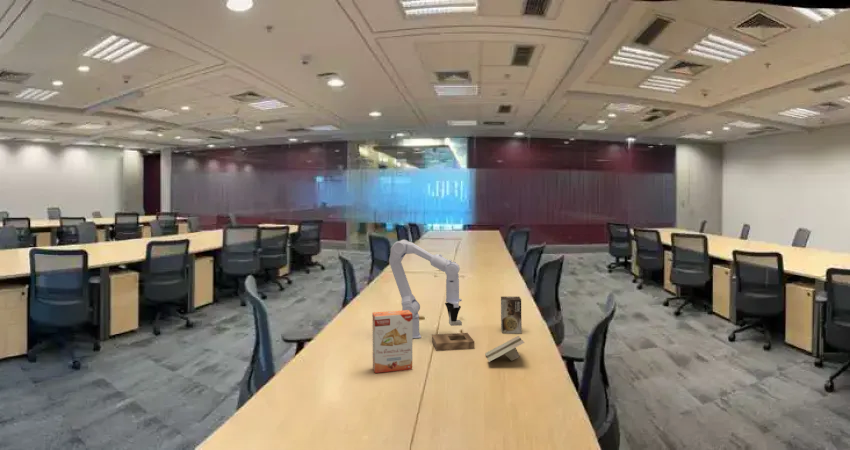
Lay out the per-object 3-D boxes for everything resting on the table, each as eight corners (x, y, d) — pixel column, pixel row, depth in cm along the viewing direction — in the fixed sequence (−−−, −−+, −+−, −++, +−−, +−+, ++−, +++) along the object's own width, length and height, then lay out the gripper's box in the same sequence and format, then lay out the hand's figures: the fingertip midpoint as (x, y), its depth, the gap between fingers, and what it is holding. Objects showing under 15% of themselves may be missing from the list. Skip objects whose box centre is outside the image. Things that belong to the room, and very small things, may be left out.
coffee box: (520, 329, 200) (520, 296, 199) (521, 333, 193) (521, 299, 192) (500, 329, 200) (500, 296, 200) (501, 333, 194) (501, 299, 193)
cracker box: (374, 374, 148) (374, 316, 147) (372, 368, 154) (371, 311, 153) (413, 369, 152) (412, 313, 151) (409, 363, 158) (408, 309, 157)
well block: (436, 350, 171) (436, 343, 171) (431, 341, 183) (431, 334, 183) (474, 348, 174) (474, 341, 174) (467, 339, 186) (467, 332, 185)
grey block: (450, 325, 185) (451, 312, 184) (448, 323, 189) (449, 310, 188) (461, 325, 185) (462, 312, 185) (459, 323, 189) (460, 309, 189)
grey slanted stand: (504, 380, 152) (535, 353, 152) (488, 361, 153) (518, 334, 153) (499, 370, 168) (527, 345, 168) (484, 353, 169) (512, 328, 169)
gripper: (465, 292, 180) (465, 323, 180) (457, 286, 194) (457, 315, 194) (449, 293, 178) (449, 324, 179) (442, 286, 193) (442, 316, 193)
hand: (452, 319), depth 187 cm, fingers closed on grey block, 4 cm apart
